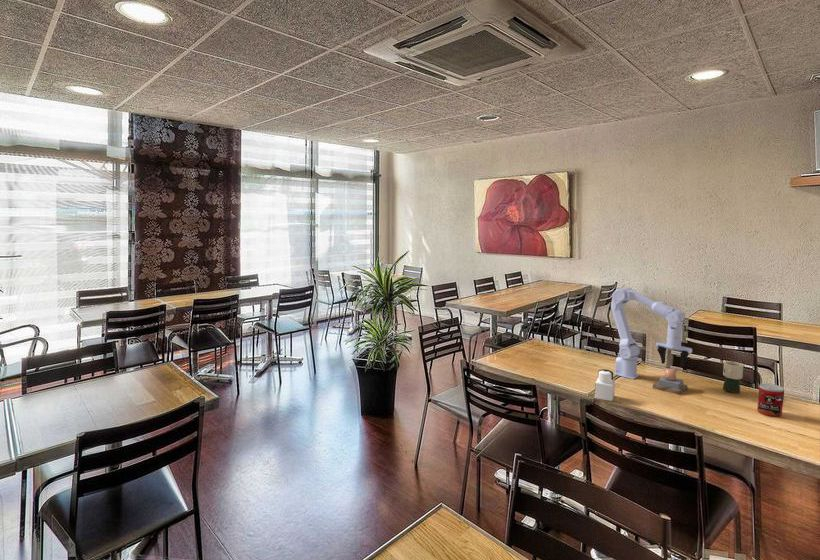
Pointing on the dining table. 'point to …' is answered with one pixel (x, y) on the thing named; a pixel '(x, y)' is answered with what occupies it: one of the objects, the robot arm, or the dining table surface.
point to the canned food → (770, 400)
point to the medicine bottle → (605, 385)
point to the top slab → (671, 383)
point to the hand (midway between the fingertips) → (672, 365)
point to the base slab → (671, 390)
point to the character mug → (732, 376)
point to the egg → (670, 374)
